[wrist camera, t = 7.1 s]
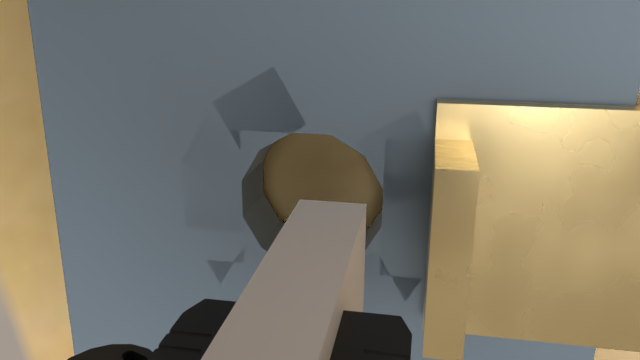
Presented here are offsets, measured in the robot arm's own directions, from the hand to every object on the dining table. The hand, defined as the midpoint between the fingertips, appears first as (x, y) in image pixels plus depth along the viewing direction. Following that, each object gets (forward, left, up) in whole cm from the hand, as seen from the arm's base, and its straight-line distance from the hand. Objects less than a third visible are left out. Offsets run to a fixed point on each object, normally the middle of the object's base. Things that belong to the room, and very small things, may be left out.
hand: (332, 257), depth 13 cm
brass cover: (+1, +6, -5) cm, 8 cm away
